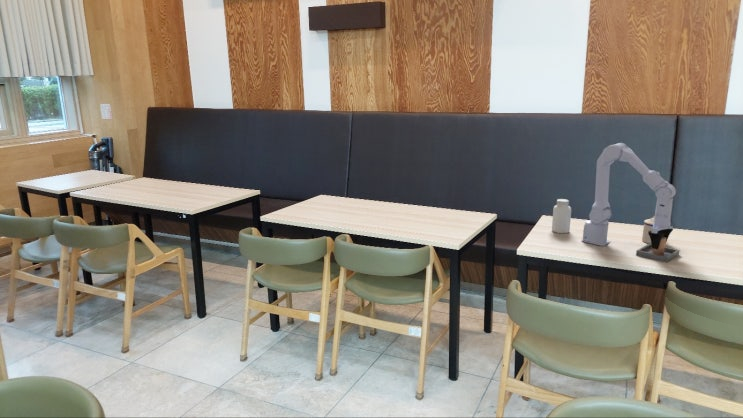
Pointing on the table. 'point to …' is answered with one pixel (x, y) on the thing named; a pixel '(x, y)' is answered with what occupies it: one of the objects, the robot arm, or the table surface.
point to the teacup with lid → (647, 227)
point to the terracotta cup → (660, 247)
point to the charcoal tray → (646, 252)
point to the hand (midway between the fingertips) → (658, 246)
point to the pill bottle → (561, 216)
